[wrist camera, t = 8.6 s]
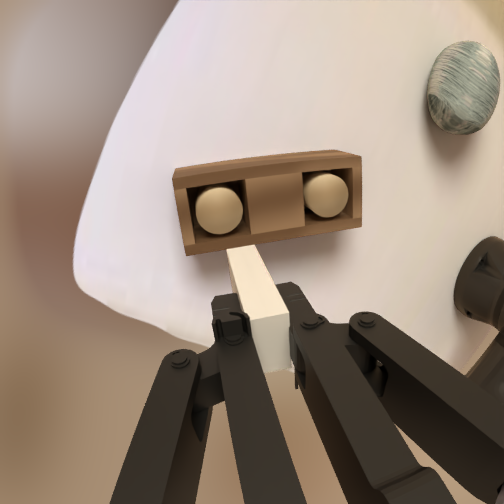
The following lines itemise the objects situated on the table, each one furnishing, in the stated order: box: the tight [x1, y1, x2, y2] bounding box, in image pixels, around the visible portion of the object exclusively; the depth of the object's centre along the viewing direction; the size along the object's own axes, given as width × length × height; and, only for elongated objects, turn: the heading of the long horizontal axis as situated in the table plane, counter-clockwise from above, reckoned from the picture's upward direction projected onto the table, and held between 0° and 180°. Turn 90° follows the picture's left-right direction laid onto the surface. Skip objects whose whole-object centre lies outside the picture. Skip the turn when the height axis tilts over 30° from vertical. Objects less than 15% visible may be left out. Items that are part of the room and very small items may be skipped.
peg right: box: [302, 170, 348, 217], centre depth 31 cm, size 4×4×5 cm
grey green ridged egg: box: [427, 41, 500, 135], centre depth 28 cm, size 14×10×10 cm
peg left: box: [195, 182, 243, 234], centre depth 29 cm, size 4×4×5 cm
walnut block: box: [172, 150, 362, 256], centre depth 31 cm, size 7×17×6 cm, turn 96°
